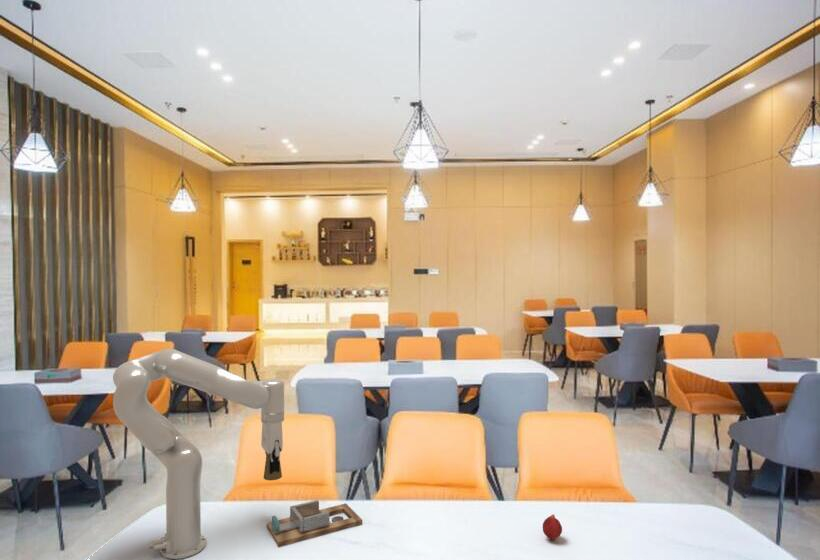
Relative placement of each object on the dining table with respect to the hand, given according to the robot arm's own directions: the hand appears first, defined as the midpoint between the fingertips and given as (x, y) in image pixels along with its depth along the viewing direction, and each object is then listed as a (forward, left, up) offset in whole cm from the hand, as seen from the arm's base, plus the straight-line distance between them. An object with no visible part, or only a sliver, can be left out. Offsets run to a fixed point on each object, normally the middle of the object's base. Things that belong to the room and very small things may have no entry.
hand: (272, 470), depth 171 cm
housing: (+6, -11, -15) cm, 20 cm away
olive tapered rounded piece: (0, 0, -2) cm, 2 cm away
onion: (+72, -57, -17) cm, 93 cm away
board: (+11, -11, -17) cm, 23 cm away
